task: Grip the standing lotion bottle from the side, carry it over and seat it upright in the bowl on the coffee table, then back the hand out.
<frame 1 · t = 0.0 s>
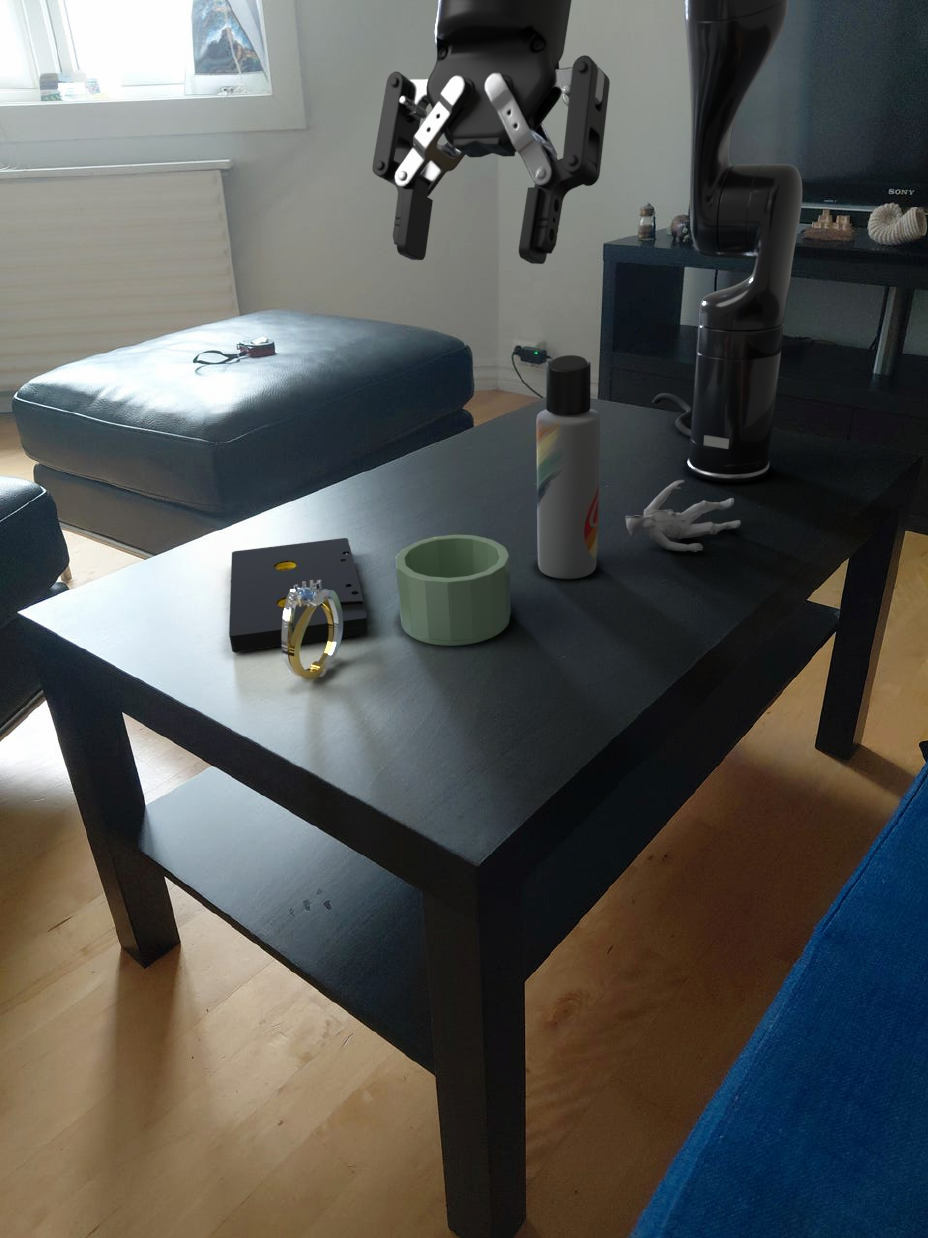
hand: (468, 258, 57), 31 cm above the table, tool tilted 20°, fingers open, 8 cm apart
lotion bottle: (567, 569, 91), on the table
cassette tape: (297, 602, 88), on the table
ring: (319, 676, 76), on the table
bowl: (455, 618, 83), on the table
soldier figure: (682, 540, 96), on the table
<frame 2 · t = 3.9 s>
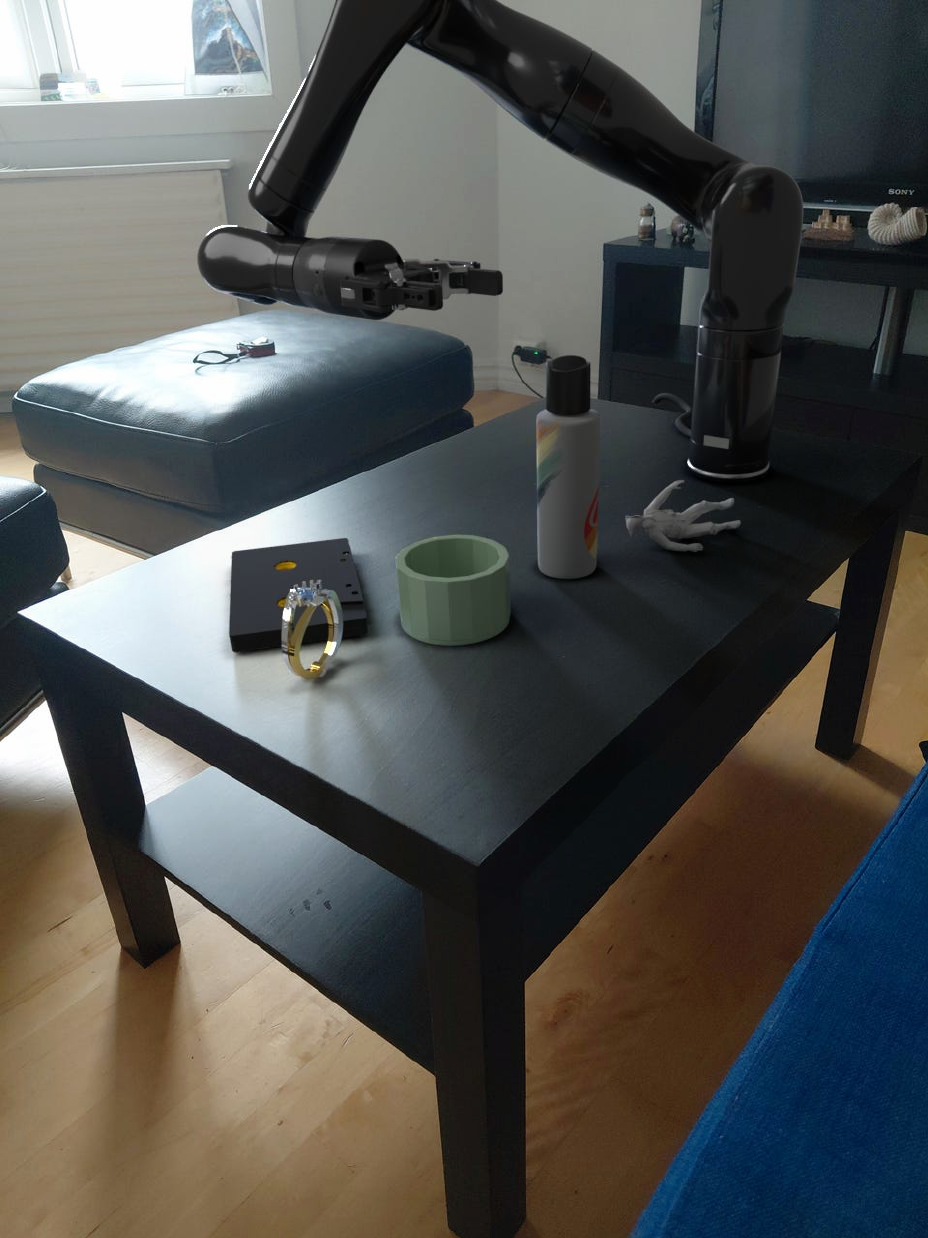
hand: (471, 290, 86), 25 cm above the table, tool horizontal, fingers open, 8 cm apart
nothing on the table moved.
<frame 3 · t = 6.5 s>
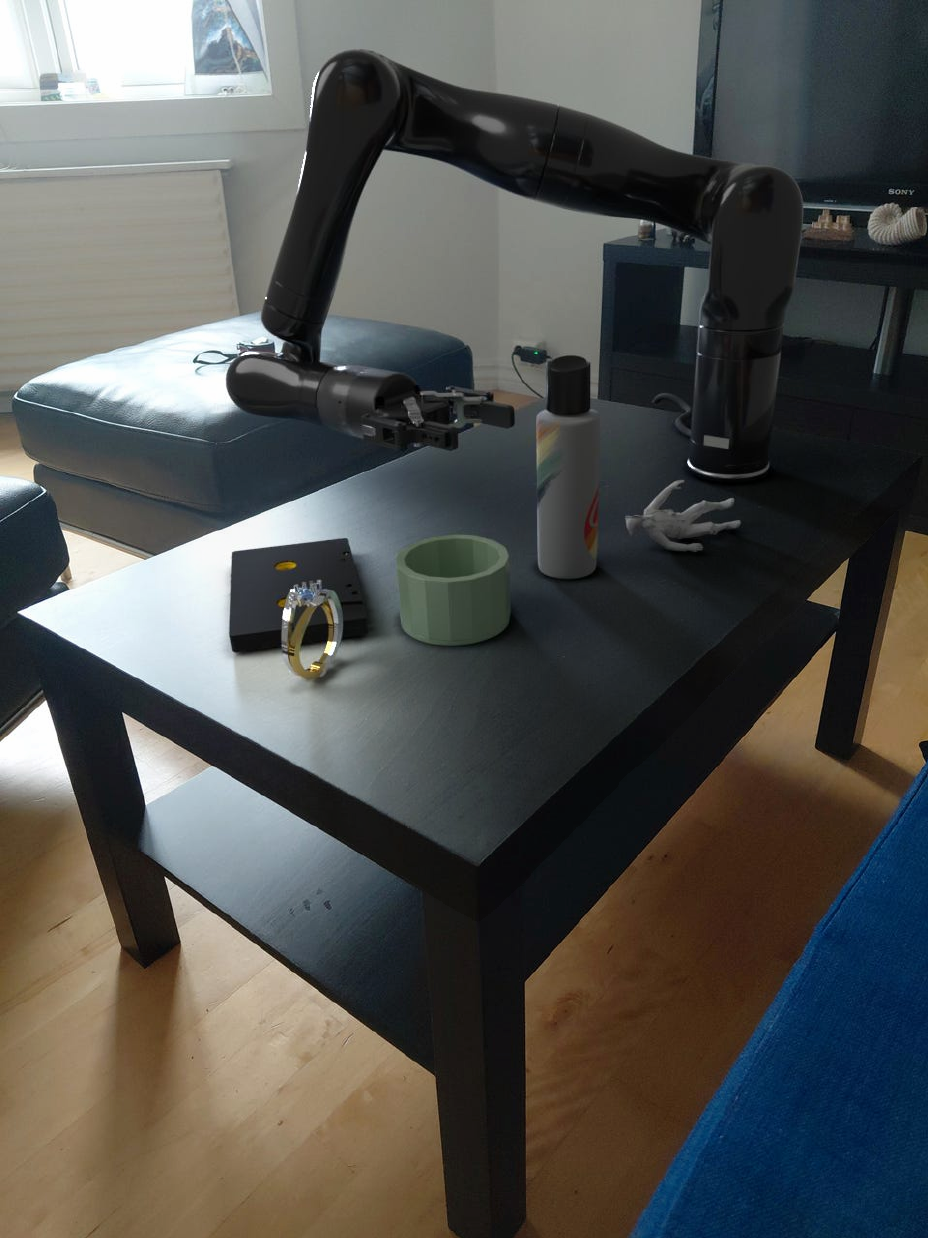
hand: (485, 428, 91), 12 cm above the table, tool horizontal, fingers open, 8 cm apart
nothing on the table moved.
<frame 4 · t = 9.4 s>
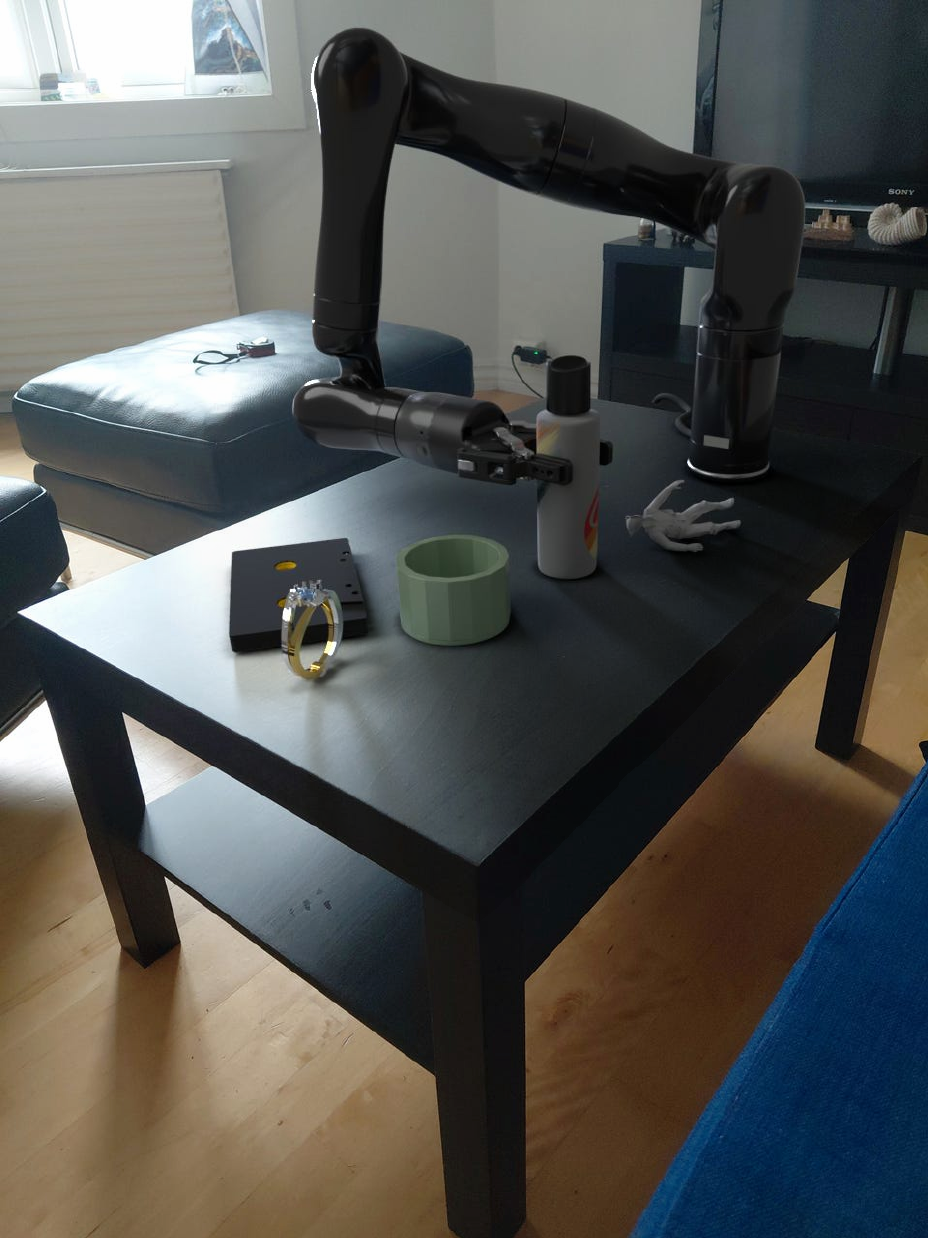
hand: (590, 463, 85), 11 cm above the table, tool horizontal, fingers closed on lotion bottle, 5 cm apart
lotion bottle: (567, 569, 91), on the table, touching gripper
everything else where it was.
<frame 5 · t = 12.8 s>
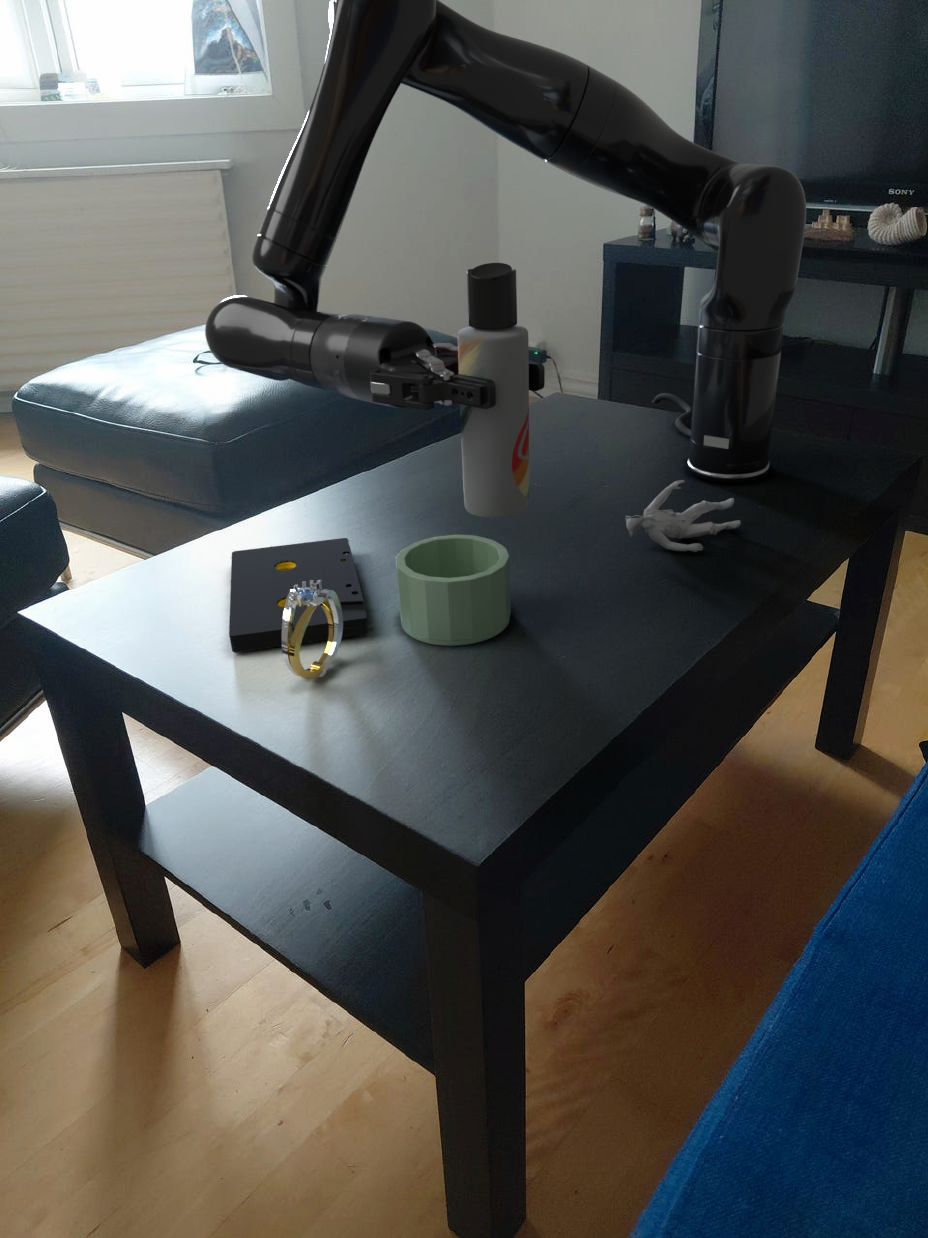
hand: (517, 386, 76), 20 cm above the table, tool horizontal, fingers closed on lotion bottle, 5 cm apart
lotion bottle: (496, 509, 82), point 9 cm above the table, touching gripper
everything else where it was.
when the fingers open (12 cm above the table, at t = 16.4 s): lotion bottle stays where it is, resting on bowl.
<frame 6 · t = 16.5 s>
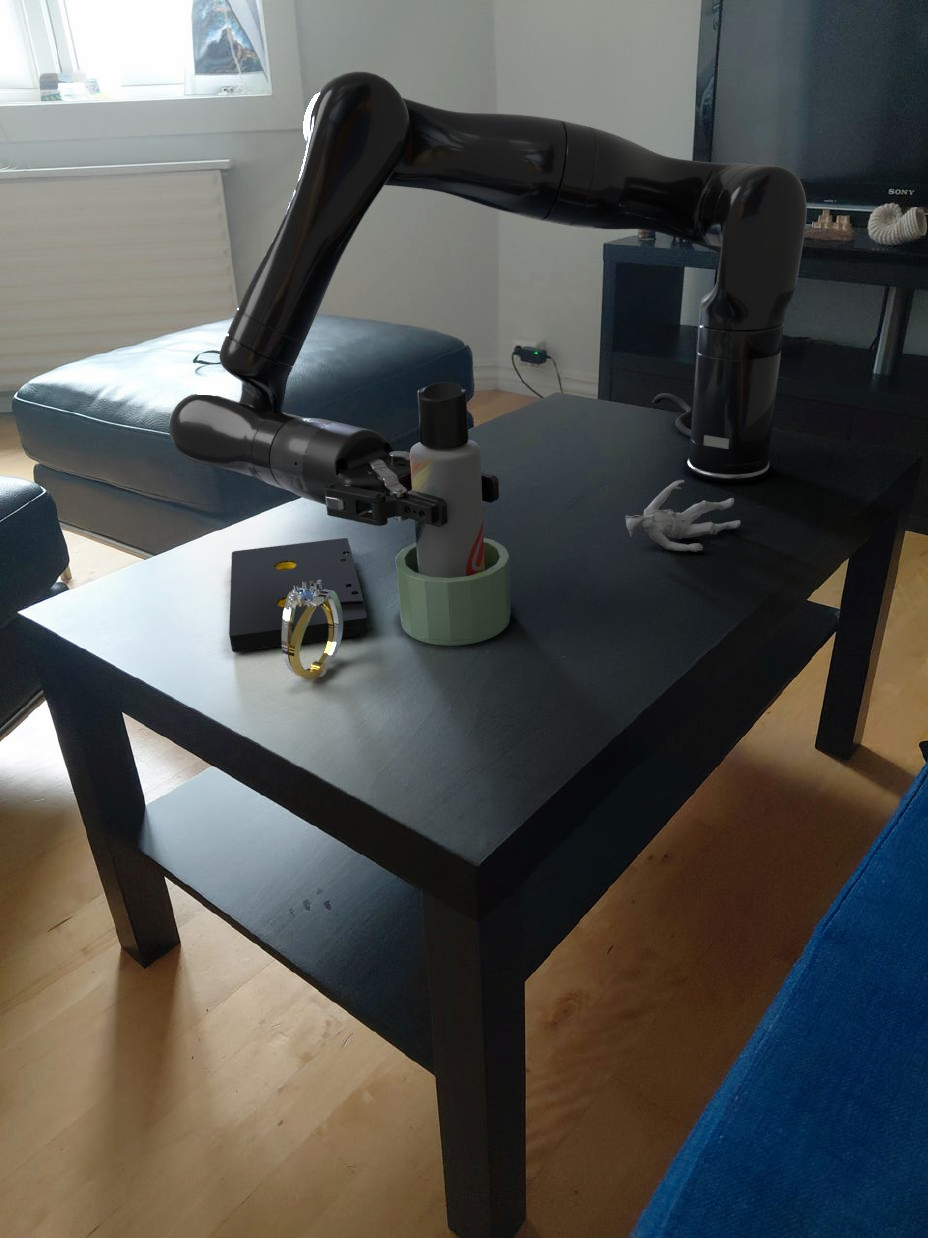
hand: (470, 501, 76), 12 cm above the table, tool horizontal, fingers open, 6 cm apart
lotion bottle: (453, 615, 83), resting on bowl
everything else where it was.
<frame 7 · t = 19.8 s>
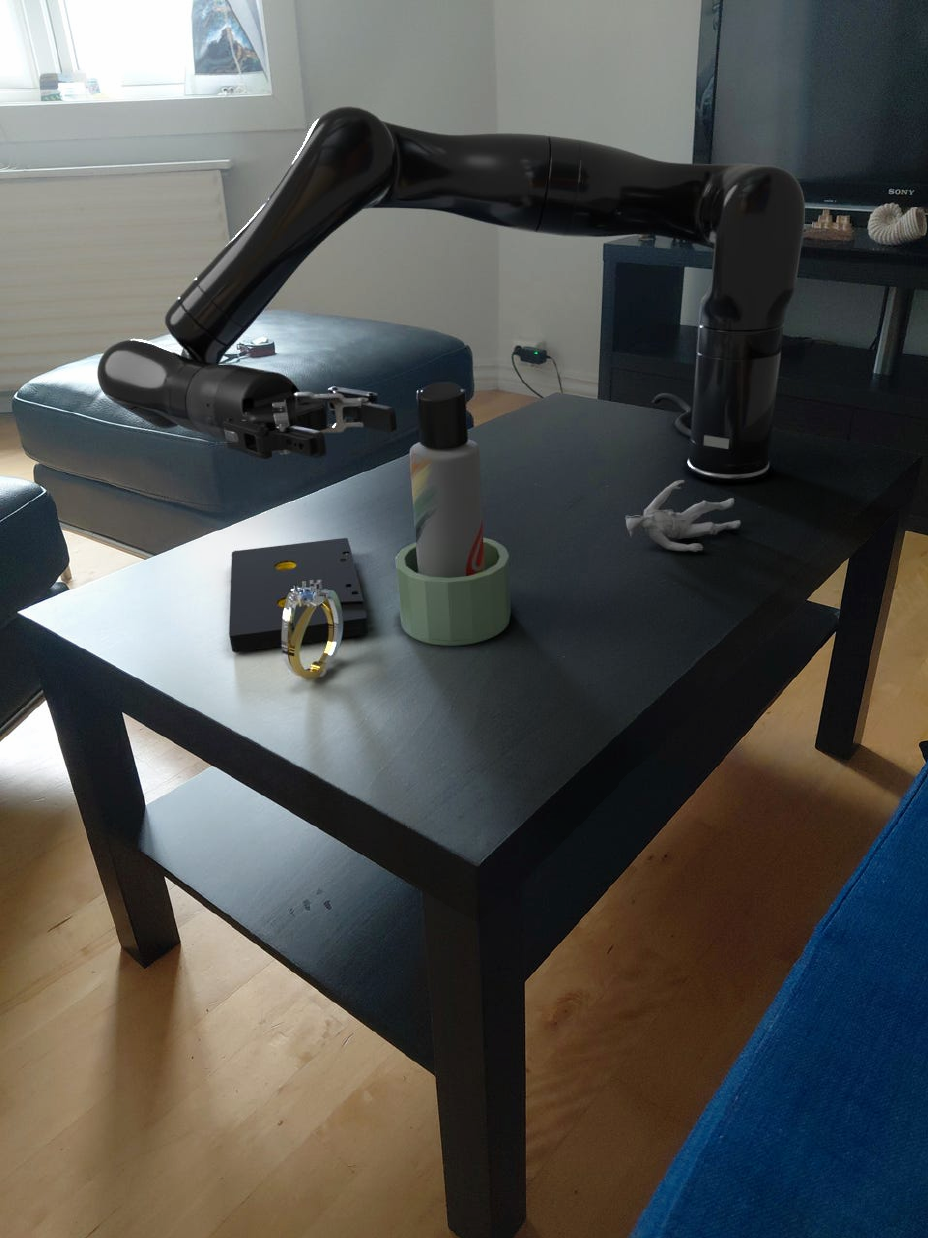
hand: (359, 432, 82), 15 cm above the table, tool horizontal, fingers open, 8 cm apart
nothing on the table moved.
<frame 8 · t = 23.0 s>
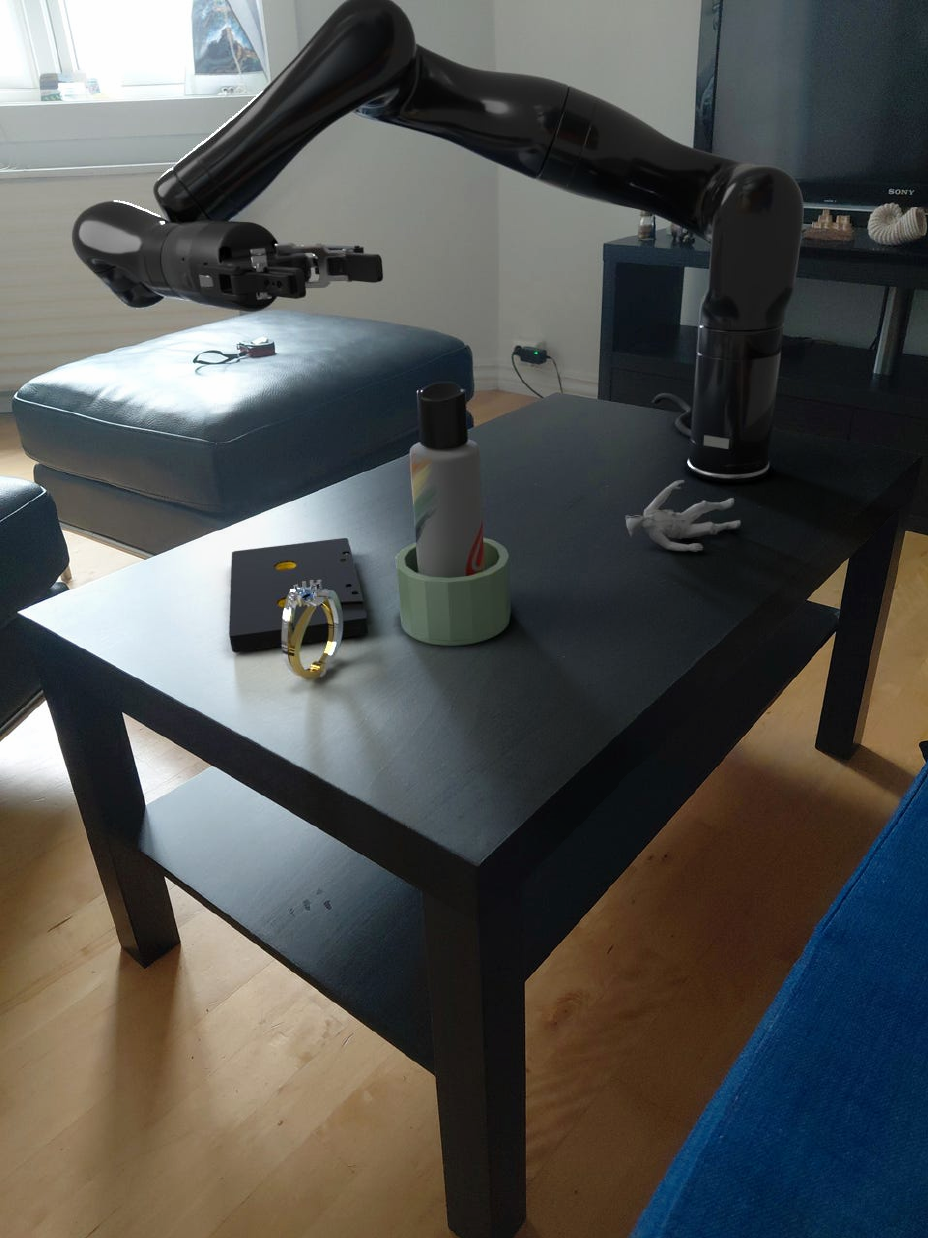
hand: (342, 276, 77), 28 cm above the table, tool horizontal, fingers open, 8 cm apart
nothing on the table moved.
at the end: lotion bottle 0.1 cm off-centre in the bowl, point 0.3 cm above the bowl's base; lotion bottle tilted 0°; the gripper is holding nothing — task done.
